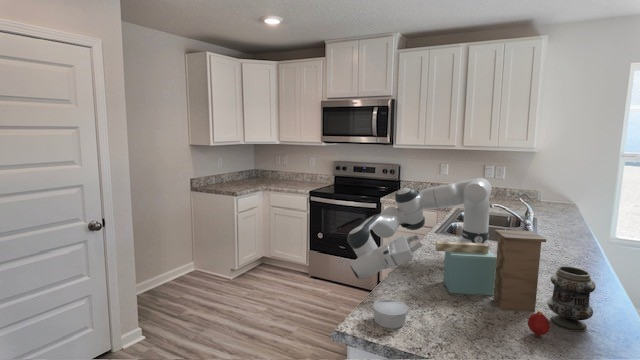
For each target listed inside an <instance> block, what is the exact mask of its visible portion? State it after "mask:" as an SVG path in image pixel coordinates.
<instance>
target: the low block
mask: <svg viewBox="0 0 640 360" xmlns="http://www.w3.org/2000/svg"><path fill="white" fill-rule="evenodd" d="M496 258H497V255H495V254H494V253H493V252H492V250H491V251H490V250H489V251H488V253H469V252H449V251H444V268H443V269H444V270H443V284H445V286H446V289H447V291H448V292H449V294H464V295H465V294H466V295H478V296H479V295H480V296H481V295H482V296H494V284H495V271H496Z"/></svg>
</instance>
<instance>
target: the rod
mask: <svg viewBox="0 0 640 360" xmlns="http://www.w3.org/2000/svg"><path fill="white" fill-rule="evenodd" d="M435 249H436V252H445V251H449V252H469V253H488V251H489V246H488V245H487V244H486V243H464V242H458V241H439V240H436V241H435Z"/></svg>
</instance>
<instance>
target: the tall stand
mask: <svg viewBox="0 0 640 360" xmlns="http://www.w3.org/2000/svg"><path fill="white" fill-rule="evenodd" d="M494 233H495V234H496V235H497V246H496V269H495V282H494V295H493V300H494V302H495V303H496V305H497V306H498V307H499V308H500V310H504V311H505V310H506V311H507V310H508V311H522V312H535V313H536V303H537V294H538V284H539V283H538V282H539V272H540V271H539V270H540V262H541V261H540V260H541V252H542V251H541V248H542V243H547V239H546V237H543V236H542V235H540V234H539V233H536V231H533V230H517V229H515V230H512V229H494Z"/></svg>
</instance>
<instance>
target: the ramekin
mask: <svg viewBox="0 0 640 360" xmlns="http://www.w3.org/2000/svg"><path fill="white" fill-rule="evenodd" d="M372 311H373V318H374V321H375V323H376V324H377V325H378V326H380V327H382V328H385V329H388V330H389V329H391V330H395V329H399V328H401V327H403V326H404V325H405V323H406V318H407V315H408V312H409V310H408V306H407V305H406V304H405V303H403V302H401V301H400V300H396V299H391V298H382V299H378V300H376V301H374V302H373V304H372Z"/></svg>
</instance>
